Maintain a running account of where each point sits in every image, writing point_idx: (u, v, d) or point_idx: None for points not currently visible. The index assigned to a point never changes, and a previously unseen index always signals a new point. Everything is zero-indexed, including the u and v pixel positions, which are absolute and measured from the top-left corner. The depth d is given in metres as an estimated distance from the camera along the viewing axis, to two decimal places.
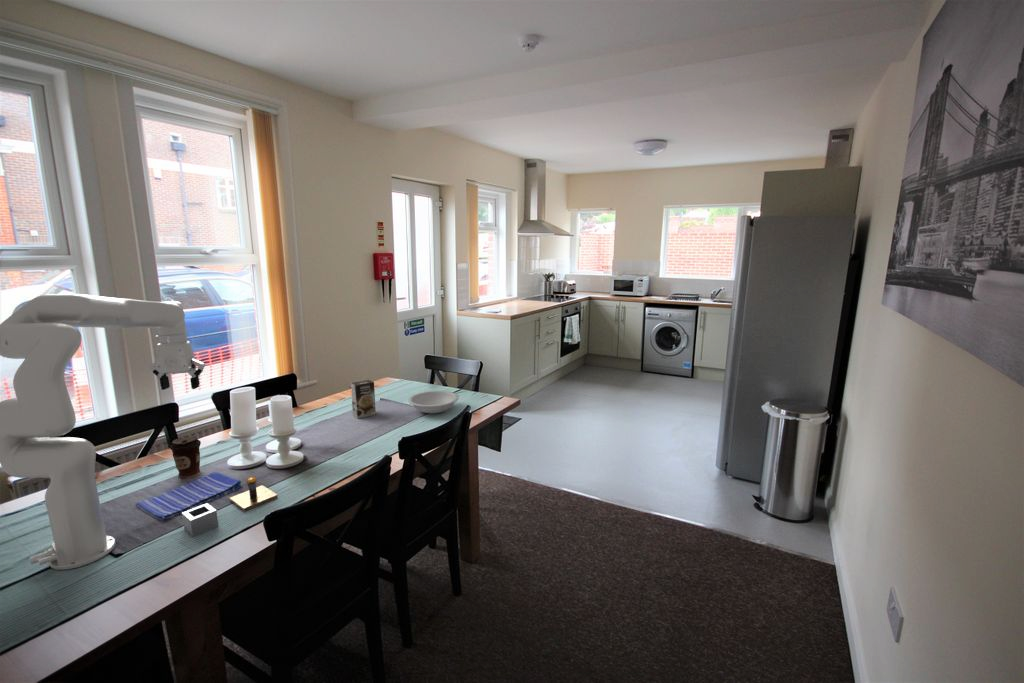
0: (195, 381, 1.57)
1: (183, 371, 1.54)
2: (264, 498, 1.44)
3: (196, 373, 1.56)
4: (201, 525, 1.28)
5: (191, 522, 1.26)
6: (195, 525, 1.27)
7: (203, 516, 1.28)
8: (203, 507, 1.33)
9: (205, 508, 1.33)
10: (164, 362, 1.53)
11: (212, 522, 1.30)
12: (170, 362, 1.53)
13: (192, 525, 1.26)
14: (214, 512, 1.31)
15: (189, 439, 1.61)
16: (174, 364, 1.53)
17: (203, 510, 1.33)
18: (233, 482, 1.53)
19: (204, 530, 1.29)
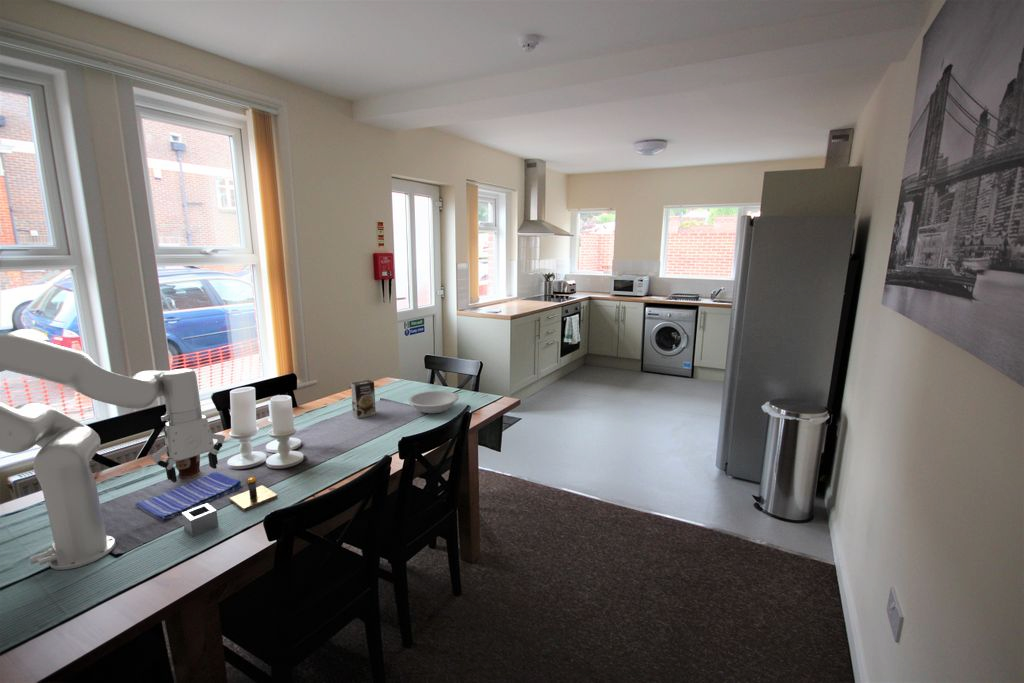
0: (216, 458, 1.32)
1: (208, 449, 1.28)
2: (264, 498, 1.44)
3: (217, 448, 1.32)
4: (201, 525, 1.28)
5: (191, 522, 1.26)
6: (195, 525, 1.27)
7: (203, 516, 1.28)
8: (203, 507, 1.33)
9: (205, 508, 1.33)
10: (183, 445, 1.23)
11: (212, 522, 1.30)
12: (191, 443, 1.25)
13: (192, 525, 1.26)
14: (214, 512, 1.31)
15: None
16: (197, 444, 1.26)
17: (203, 510, 1.33)
18: (233, 482, 1.53)
19: (204, 530, 1.29)
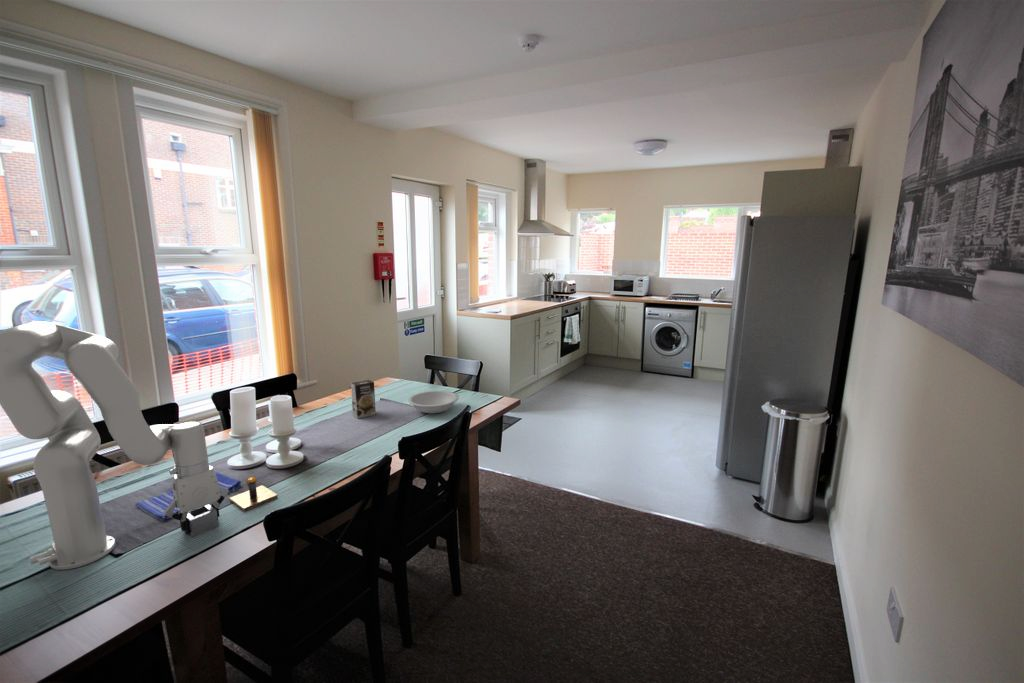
0: (217, 512, 1.34)
1: (215, 499, 1.31)
2: (264, 498, 1.44)
3: (220, 502, 1.34)
4: (201, 525, 1.28)
5: (191, 522, 1.26)
6: (195, 525, 1.27)
7: (203, 516, 1.28)
8: (203, 507, 1.33)
9: (205, 508, 1.33)
10: (191, 497, 1.26)
11: (212, 522, 1.30)
12: (199, 495, 1.27)
13: (192, 525, 1.26)
14: (214, 512, 1.31)
15: None
16: (204, 495, 1.28)
17: (203, 510, 1.33)
18: (233, 482, 1.53)
19: (204, 530, 1.29)
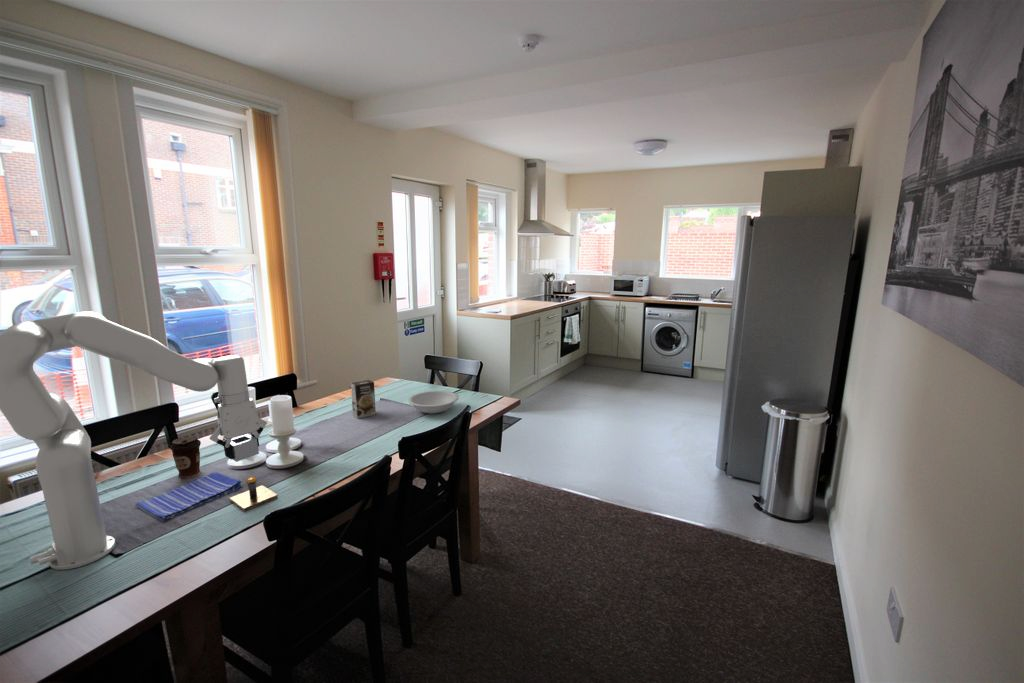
0: (257, 441, 1.43)
1: (255, 429, 1.40)
2: (264, 498, 1.44)
3: (259, 433, 1.43)
4: (243, 451, 1.38)
5: (234, 447, 1.36)
6: (238, 451, 1.37)
7: (245, 443, 1.38)
8: (244, 437, 1.42)
9: (246, 437, 1.42)
10: (234, 425, 1.35)
11: (253, 449, 1.40)
12: (241, 423, 1.37)
13: (235, 450, 1.36)
14: (254, 440, 1.40)
15: (189, 439, 1.61)
16: (245, 424, 1.38)
17: (244, 439, 1.43)
18: (233, 482, 1.53)
19: (246, 456, 1.39)
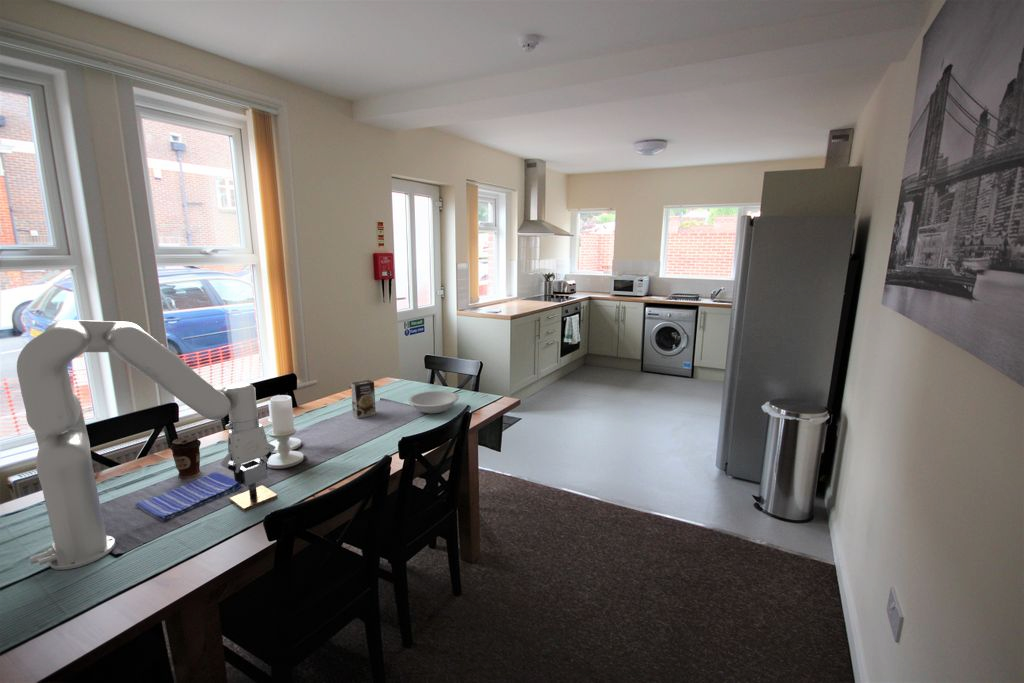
0: (266, 466, 1.47)
1: (264, 454, 1.44)
2: (264, 498, 1.44)
3: (268, 457, 1.47)
4: (253, 476, 1.42)
5: (244, 472, 1.40)
6: (248, 475, 1.41)
7: (254, 468, 1.42)
8: (253, 461, 1.47)
9: (255, 462, 1.46)
10: (244, 451, 1.39)
11: (262, 474, 1.44)
12: (251, 449, 1.41)
13: (245, 475, 1.40)
14: (264, 465, 1.44)
15: (189, 439, 1.61)
16: (255, 449, 1.42)
17: (253, 464, 1.47)
18: (233, 482, 1.53)
19: (255, 480, 1.43)
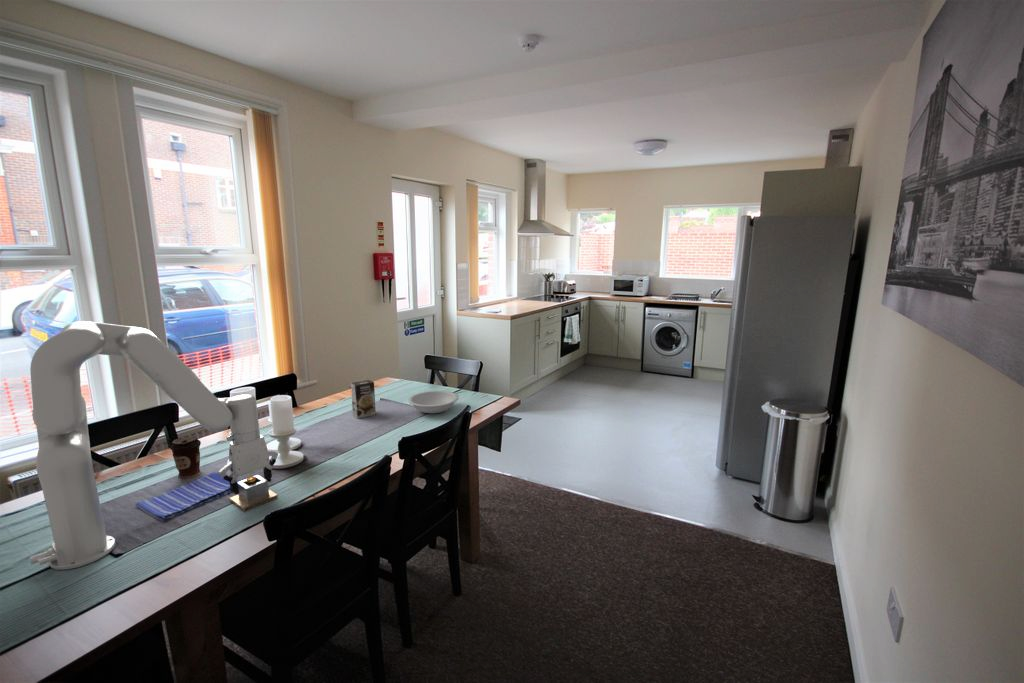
0: (270, 473, 1.49)
1: (265, 465, 1.45)
2: (264, 498, 1.44)
3: (272, 464, 1.49)
4: (255, 493, 1.43)
5: (247, 490, 1.41)
6: (250, 493, 1.42)
7: (256, 485, 1.43)
8: None
9: (257, 479, 1.47)
10: (245, 462, 1.40)
11: (264, 491, 1.45)
12: (252, 460, 1.42)
13: (247, 493, 1.41)
14: (266, 482, 1.45)
15: (189, 439, 1.61)
16: (256, 461, 1.43)
17: None
18: None
19: (257, 498, 1.44)
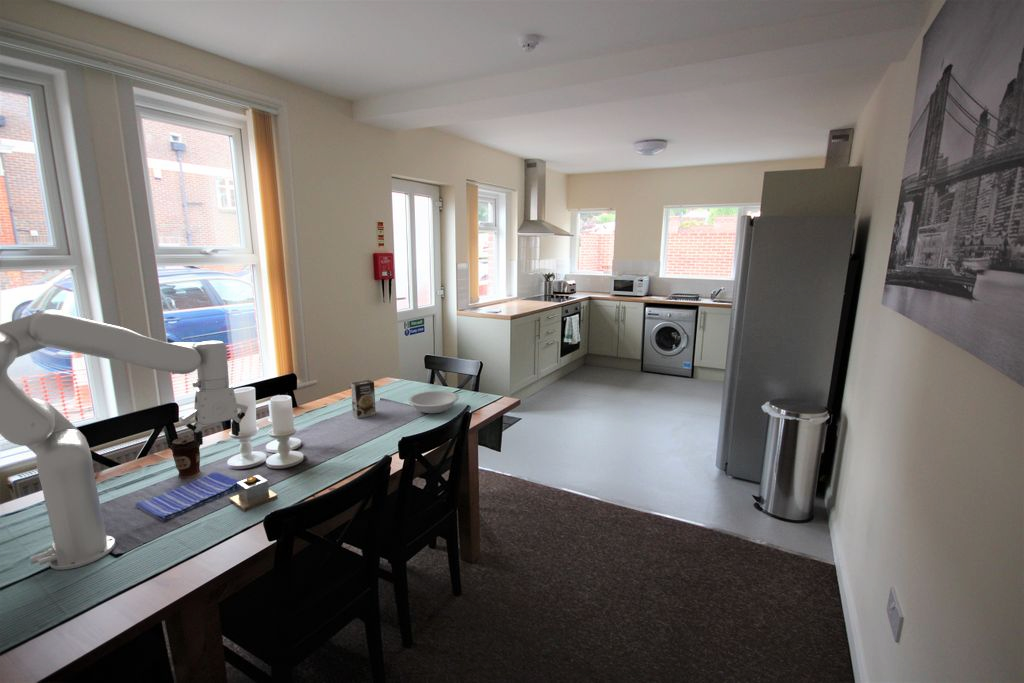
0: (238, 427, 1.42)
1: (232, 417, 1.38)
2: (264, 498, 1.44)
3: (240, 417, 1.42)
4: (255, 493, 1.43)
5: (247, 490, 1.41)
6: (250, 493, 1.42)
7: (256, 485, 1.43)
8: None
9: (257, 479, 1.47)
10: (211, 411, 1.34)
11: (264, 491, 1.45)
12: (218, 409, 1.35)
13: (247, 493, 1.41)
14: (266, 482, 1.45)
15: (189, 439, 1.61)
16: (223, 411, 1.36)
17: None
18: (233, 482, 1.53)
19: (257, 498, 1.44)
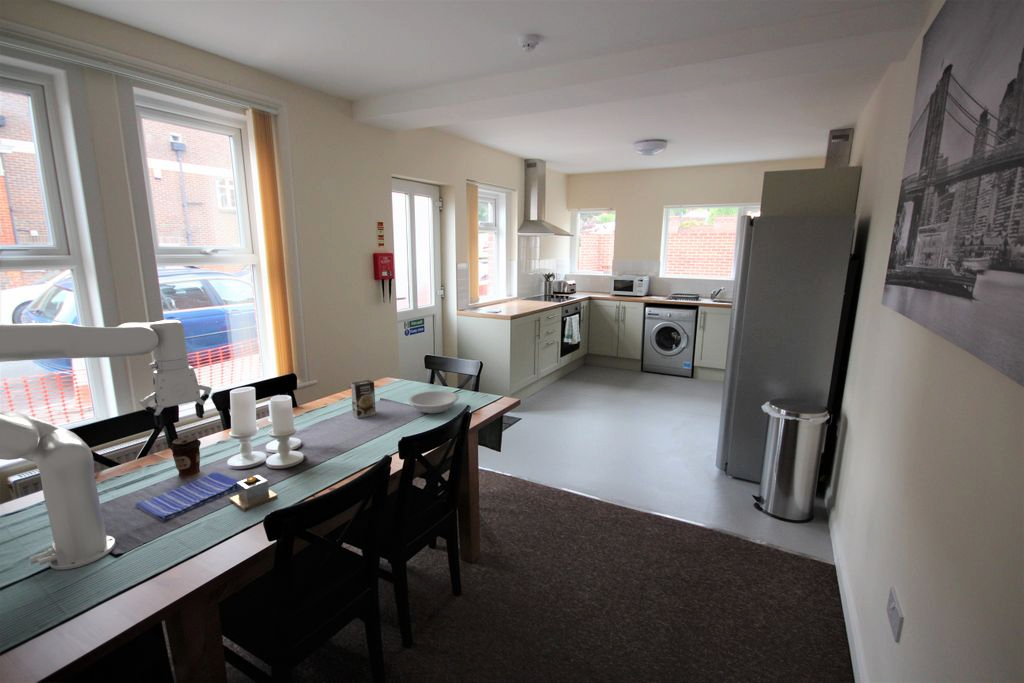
0: (202, 409, 1.37)
1: (195, 398, 1.34)
2: (264, 498, 1.44)
3: (204, 399, 1.37)
4: (255, 493, 1.43)
5: (247, 490, 1.41)
6: (250, 493, 1.42)
7: (256, 485, 1.43)
8: None
9: (257, 479, 1.47)
10: (170, 393, 1.29)
11: (264, 491, 1.45)
12: (178, 391, 1.30)
13: (247, 493, 1.41)
14: (266, 482, 1.45)
15: (189, 439, 1.61)
16: (184, 393, 1.31)
17: None
18: (233, 482, 1.53)
19: (257, 498, 1.44)
